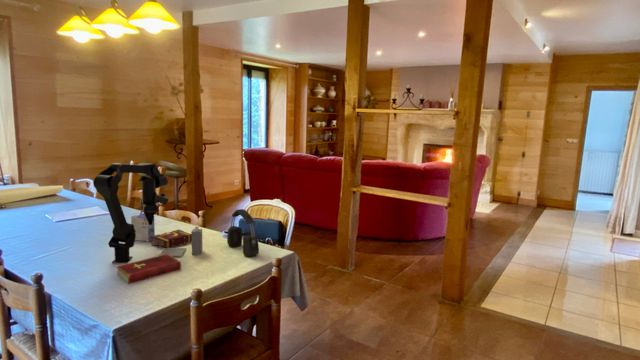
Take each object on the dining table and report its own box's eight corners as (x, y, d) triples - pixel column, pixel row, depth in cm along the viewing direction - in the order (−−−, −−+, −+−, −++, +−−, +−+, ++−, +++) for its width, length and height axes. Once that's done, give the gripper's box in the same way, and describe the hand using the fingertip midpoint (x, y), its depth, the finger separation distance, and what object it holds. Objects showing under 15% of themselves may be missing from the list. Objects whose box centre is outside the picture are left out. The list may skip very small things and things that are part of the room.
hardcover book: (181, 270, 161) (180, 260, 161) (128, 285, 146) (127, 274, 145) (167, 262, 169) (167, 253, 169) (116, 275, 154) (116, 265, 154)
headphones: (260, 256, 179) (260, 214, 176) (248, 259, 175) (248, 216, 172) (237, 243, 196) (237, 204, 193) (225, 245, 192) (225, 206, 189)
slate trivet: (181, 257, 174) (181, 255, 174) (158, 257, 173) (158, 255, 173) (186, 249, 184) (186, 247, 184) (164, 249, 183) (164, 248, 183)
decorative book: (192, 242, 195) (192, 232, 194) (162, 250, 182) (162, 240, 182) (179, 237, 202) (178, 228, 201) (149, 245, 189) (149, 235, 188)
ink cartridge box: (155, 238, 198) (154, 211, 196) (149, 241, 193) (147, 213, 191) (138, 236, 200) (137, 209, 198) (131, 240, 195) (130, 212, 193)
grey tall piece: (200, 254, 178) (200, 227, 176) (191, 254, 178) (191, 227, 176) (202, 251, 183) (202, 224, 180) (193, 251, 182) (193, 224, 180)
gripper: (170, 192, 177) (170, 225, 179) (164, 186, 193) (165, 216, 195) (143, 193, 172) (144, 228, 174) (139, 187, 188) (140, 218, 190)
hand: (149, 222), depth 183 cm, fingers open, 9 cm apart
